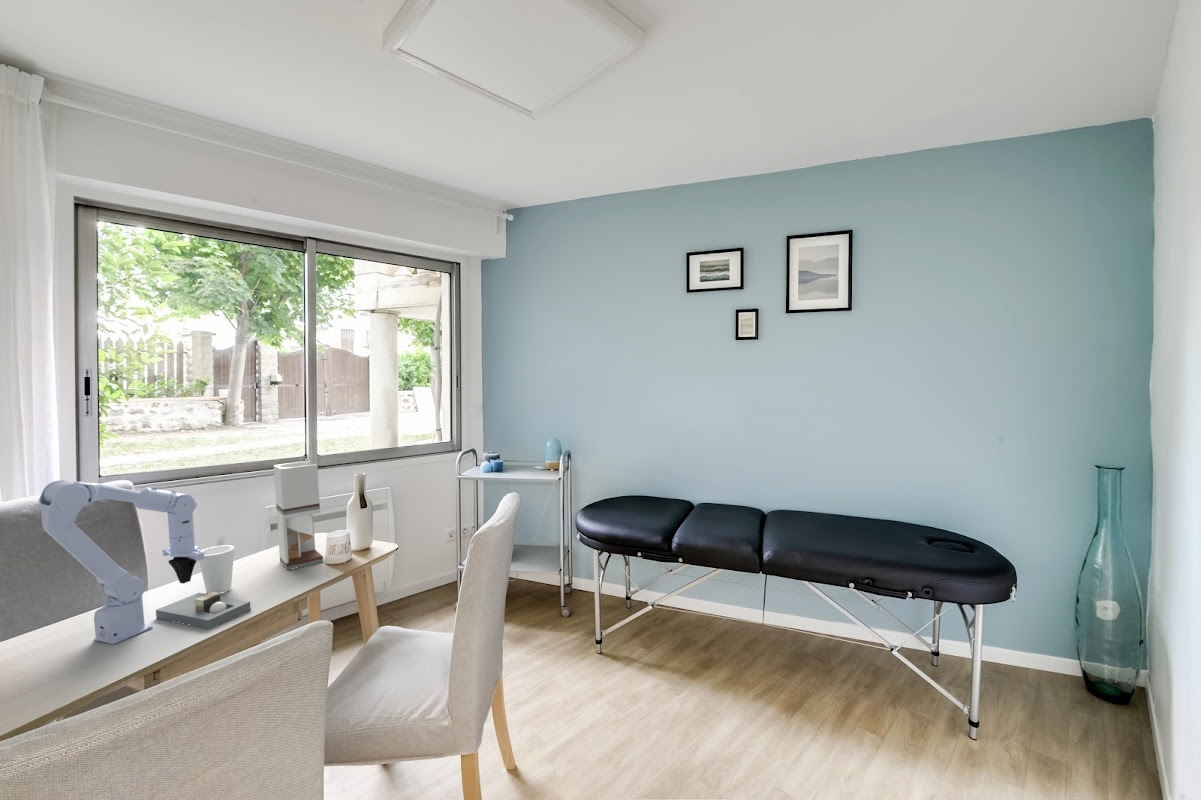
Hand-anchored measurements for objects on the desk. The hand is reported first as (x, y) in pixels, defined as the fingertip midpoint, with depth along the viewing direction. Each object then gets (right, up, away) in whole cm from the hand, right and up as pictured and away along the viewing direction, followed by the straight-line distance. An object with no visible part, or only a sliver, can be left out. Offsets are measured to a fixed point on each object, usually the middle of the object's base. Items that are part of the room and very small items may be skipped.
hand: (185, 582), depth 160 cm
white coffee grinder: (+13, -6, +39) cm, 41 cm away
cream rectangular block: (+8, -6, -2) cm, 11 cm away
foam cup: (0, -8, +15) cm, 17 cm away
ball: (+12, -6, -4) cm, 14 cm away
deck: (+6, -9, -2) cm, 11 cm away
